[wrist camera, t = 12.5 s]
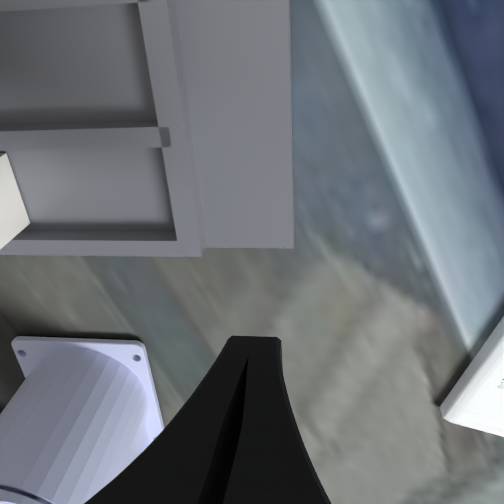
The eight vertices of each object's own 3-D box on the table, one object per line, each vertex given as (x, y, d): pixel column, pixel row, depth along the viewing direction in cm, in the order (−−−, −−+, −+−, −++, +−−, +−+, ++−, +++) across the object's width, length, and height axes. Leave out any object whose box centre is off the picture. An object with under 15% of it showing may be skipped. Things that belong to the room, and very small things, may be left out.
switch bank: (295, 237, 22) (292, 260, 20) (-104, 235, 25) (-135, 255, 23) (285, -241, 14) (281, -270, 12) (-307, -160, 17) (-377, -175, 15)
